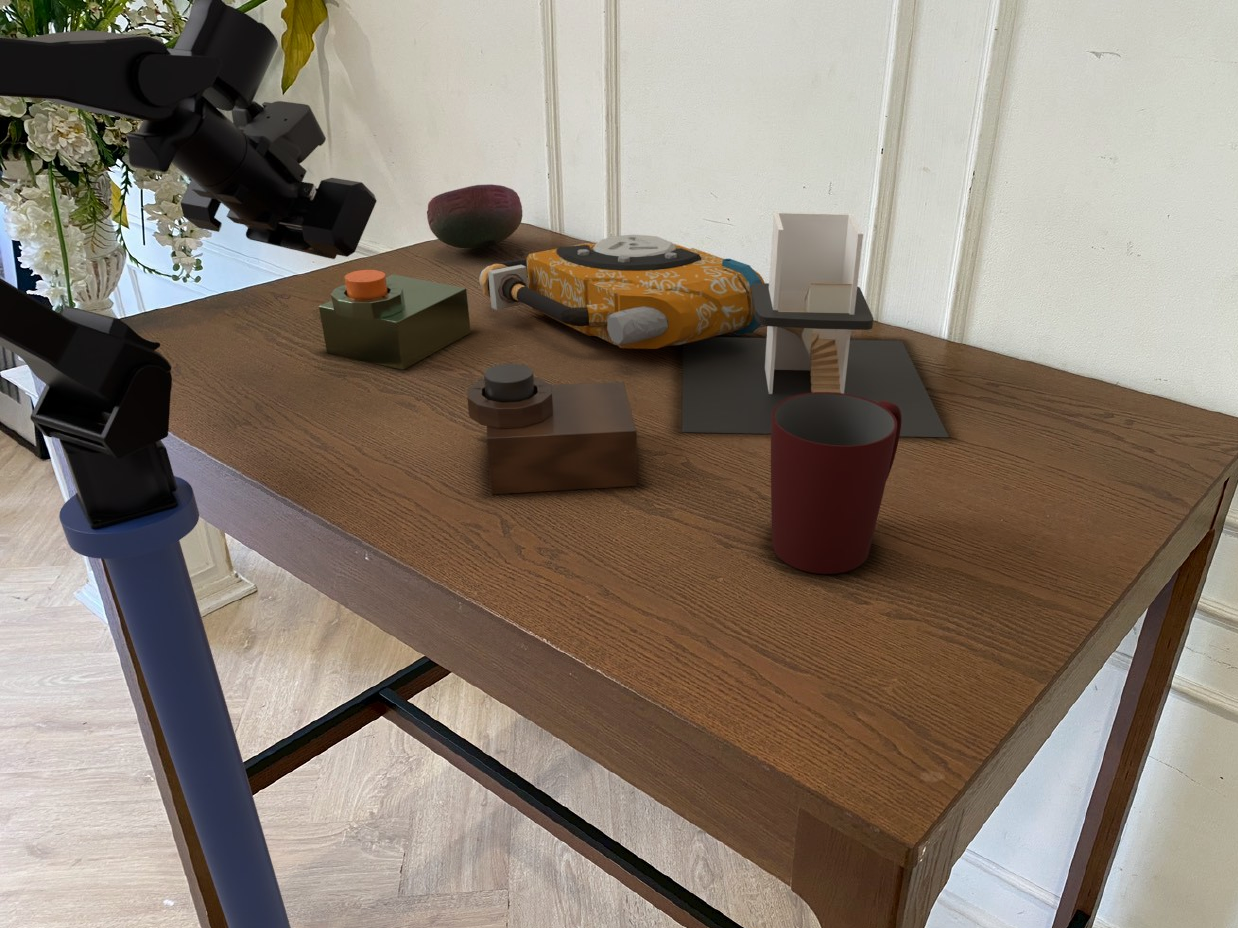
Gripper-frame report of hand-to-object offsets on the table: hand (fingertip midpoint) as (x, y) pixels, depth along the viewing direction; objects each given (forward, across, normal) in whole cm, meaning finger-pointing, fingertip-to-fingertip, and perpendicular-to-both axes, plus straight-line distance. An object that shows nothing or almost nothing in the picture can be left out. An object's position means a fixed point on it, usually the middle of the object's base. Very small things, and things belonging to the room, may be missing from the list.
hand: (334, 254), depth 97 cm
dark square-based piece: (+23, -42, -5) cm, 48 cm away
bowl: (+35, +12, -19) cm, 41 cm away
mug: (+3, -55, +14) cm, 57 cm away
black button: (-3, -26, +10) cm, 28 cm away
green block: (+14, +1, +3) cm, 15 cm away
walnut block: (+4, -29, +14) cm, 32 cm away
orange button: (+7, +1, +1) cm, 7 cm away
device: (+26, -18, -9) cm, 32 cm away
